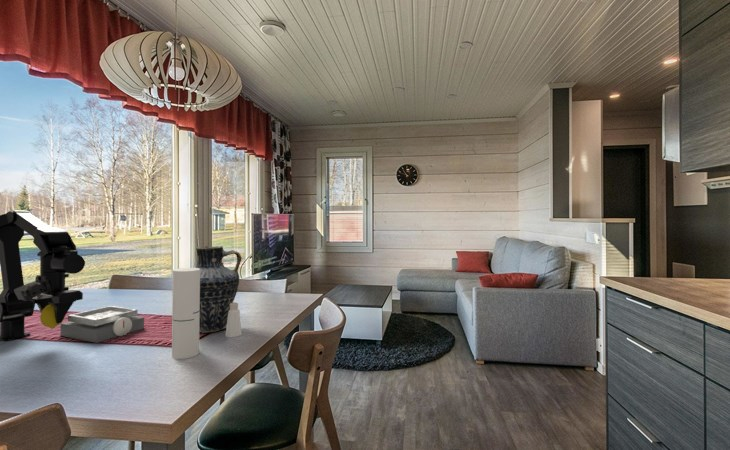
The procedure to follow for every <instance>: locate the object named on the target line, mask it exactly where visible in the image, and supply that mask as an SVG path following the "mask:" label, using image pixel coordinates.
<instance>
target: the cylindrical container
mask: <svg viewBox="0 0 730 450" xmlns="http://www.w3.org/2000/svg"><path fill="white" fill-rule="evenodd" d="M171 299H172V300H171V301H172V305H171V307H172V309H171V311H172V313H171V315H172V316H171V319H172V320H171V321H172V322H171V357H172V358H173V359H175V360H184V359H190V358H193V357H196V356H198V355H199V353H200V332H199V318H200V311H199V310H200V269H199V268H195V267H181V268H175V269H172V298H171Z"/></svg>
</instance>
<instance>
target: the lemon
mask: <svg viewBox="0 0 730 450" xmlns="http://www.w3.org/2000/svg"><path fill="white" fill-rule="evenodd" d="M39 318H40V319H39V320H40V323H41V325H43V327H46V328H49V329H51V330H53V329H56V327H57V326H59V325H61V323H63V322H64V320H65V318H64V319H63V320H62V322H61V323H58V324H57V323H56V319H55V313H54V307H53V306H51V305H47V306H46V307H45V308H44V309H43V310H42V312H40V317H39Z"/></svg>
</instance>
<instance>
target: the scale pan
mask: <svg viewBox="0 0 730 450" xmlns="http://www.w3.org/2000/svg"><path fill="white" fill-rule="evenodd" d="M138 311H139V310H138V309H136V308H127V307H121V306H114V305H109V306H104V307H99V308H95V309H90V310H85V311H82V312H76V313H72V314H68V315H67V322H75V323H81V324H86V325H92V326H99V325H102V324H106V323H110V322H114V321H117V320H118V319H120V318H123V317H126V318H129V317H133V316H138V313H139V312H138Z"/></svg>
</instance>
